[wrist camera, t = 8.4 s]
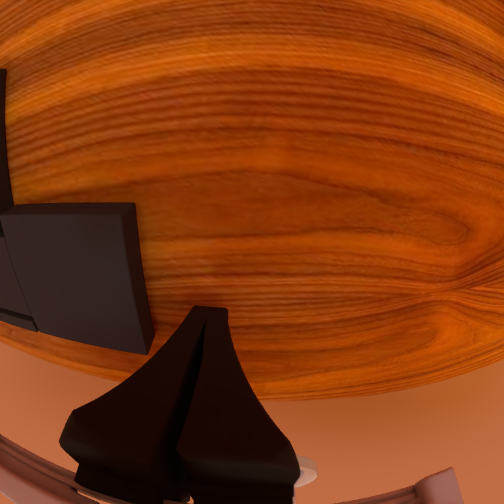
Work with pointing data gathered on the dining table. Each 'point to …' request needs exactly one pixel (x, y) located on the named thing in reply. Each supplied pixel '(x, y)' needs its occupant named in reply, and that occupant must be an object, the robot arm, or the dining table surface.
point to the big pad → (3, 201)
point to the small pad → (77, 273)
